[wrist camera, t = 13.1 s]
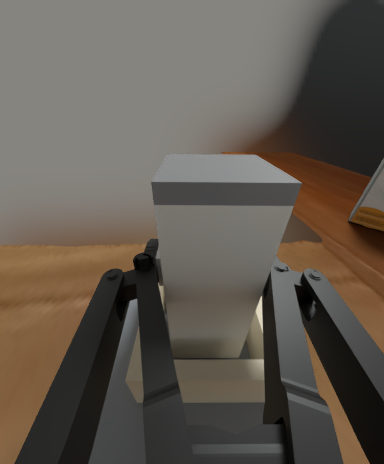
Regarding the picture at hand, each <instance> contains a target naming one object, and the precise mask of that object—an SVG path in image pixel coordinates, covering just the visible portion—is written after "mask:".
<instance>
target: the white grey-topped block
mask: <svg viewBox="0 0 384 464" xmlns="http://www.w3.org/2000/svg"><path fill="white" fill-rule="evenodd" d="M151 183H152V191H153V200H154V209H155V217H156V225H157V233H158V242H159V251H160V259H161V267H162V276H163V284H164V293H165V301H166V309H167V318H168V326H169V335H170V343H171V350H172V355H173V358H239V356H240V353H241V350H242V347H243V345H244V342H245V339H246V336H247V334H248V331H249V328H250V325H251V323H252V320H253V317H254V314H255V312H256V309H257V306H258V303H259V301H260V298H261V295H262V292H263V289H264V287H265V284H266V281H267V278H268V276H269V273H270V270H271V267H272V265H273V262H274V259H275V256H276V254H277V251H278V248H279V245H280V243H281V240H282V237H283V234H284V231H285V229H286V226H287V223H288V220H289V218H290V215H291V212H292V209H293V207H294V204H295V201H296V198H297V196H298V193H299V190H300V187H301V184H302V183H301V182H300V181H298V180H296V179H295V178H293V177H291V176H290V175H288V174H286V173H285V172H283V171H281V170H280V169H278V168H276V167H275V166H273V165H271V164H270V163H268V162H266V161H265V160H263V159H262V158H260V157H258V156H257V155H212V154H211V155H209V154H208V155H207V154H168V155H167V156H166V158H165V160H164V161H163V163H162V165H161V166H160V168H159V170H158V171H157V173H156V175H155V176H154V178H153V180H152V182H151Z"/></svg>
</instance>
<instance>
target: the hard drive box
mask: <svg viewBox="0 0 384 464" xmlns="http://www.w3.org/2000/svg"><path fill="white" fill-rule="evenodd" d="M349 221H350V222H353V223H357V224H360V225H363V226H365V227H368V228H372V229H377V230H380V231H384V159H383V160H382V162H381V164H380V165H379V167H378V169H377V170H376V172H375V174H374V175H373V177H372V179H371V181H370V182H369V184H368V186H367V187H366V189H365V191H364V193H363V194H362V196H361V198H360V199H359V201H358V203H357V204H356V206H355V207H354V209H353V210H352V212H351V215H350V218H349Z"/></svg>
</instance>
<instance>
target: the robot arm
mask: <svg viewBox="0 0 384 464" xmlns="http://www.w3.org/2000/svg"><path fill="white" fill-rule="evenodd" d="M133 263H134V267H135V269H134V270H131V271H127V272H122V270H120V269H111V270H109V271H107V272H105V273H104V274H103V276H102V278H101V280H100V282H99V284H98V286H97V288H96V291H95V293H94V295H93V297H92V299H91V301H90V303H89V306H88V308H87V310H86V312H85V314H84V316H83V318H82V320H81V323H80V325H79V327H78V329H77V331H76V333H75V335H74V338H73V340H72V342H71V344H70V346H69V348H68V350H67V353H66V355H65V357H64V359H63V361H62V363H61V365H60V368H59V370H58V372H57V374H56V376H55V378H54V380H53V383H52V385H51V387H50V389H49V391H48V393H47V395H46V398H45V400H44V402H43V404H42V406H41V408H40V410H39V412H38V415H37V417H36V419H35V421H34V423H33V425H32V427H31V430H30V432H29V434H28V436H27V438H26V440H25V442H24V445H23V447H22V449H21V451H20V453H19V455H18V457H17V460H16V462H15V464H88V463H89V459H90V456H91V452H92V449H93V445H94V441H95V437H96V433H97V429H98V425H99V421H100V417H101V413H102V409H103V405H104V401H105V398H106V394H107V390H108V386H109V382H110V378H111V374H112V370H113V366H114V362H115V358H116V354H117V350H118V346H119V343H120V339H121V335H122V331H123V327H124V323H125V319H126V315H127V311H128V307H129V303H130V301H131V300H134V299H137V305H138V319H139V334H140V348H141V363H142V377H143V392H144V398H143V422H144V438H145V454H146V464H343V460H342V456H341V452H340V448H339V444H338V440H337V436H336V432H335V428H334V424H333V420H332V416H331V413H330V410H329V407H328V405H327V403H326V401H325V400H324V399H322V398H321V397H320V395H319V393H318V390H317V385H316V381H315V376H314V372H313V367H312V363H311V358H310V354H309V349H308V345H307V341H306V336H305V332H304V327H305V329H306V331H307V333H308V335H309V338H310V340H311V342H312V344H313V346H314V348H315V350H316V352H317V354H318V356H319V359H320V361H321V363H322V365H323V367H324V369H325V371H326V373H327V375H328V378H329V380H330V382H331V384H332V386H333V388H334V390H335V392H336V394H337V396H338V399H339V401H340V403H341V405H342V407H343V409H344V411H345V413H346V415H347V417H348V420H349V422H350V424H351V426H352V428H353V430H354V432H355V434H356V436H357V439H358V441H359V443H360V445H361V447H362V449H363V451H364V453H365V455H366V457H367V459H368V461H369V463H370V464H384V354H383V352H382V351H381V350H380V349H379V347H378V346H377V345H376V343H375V342H374V341H373V339H372V338H371V337H370V335H369V334H368V333H367V331H366V330H365V329H364V327H363V326H362V325H361V323H360V322H359V321H358V319H357V318H356V317H355V315H354V314H353V313H352V311H351V310H350V309H349V307H348V306H347V305H346V303H345V302H344V301H343V299H342V298H341V297H340V295H339V294H338V293H337V291H336V290H335V289H334V287H333V286H332V285H331V284H330V282H329V281H328V280H327V278H326V277H325V276H324V275H323V274H322V273H321V272H319V271H317V270H314V269H306V270H304V272H303V273H301V272H296V271H293V270H290V268H289V267H288V266H287V265H286V264H284V263H282V262H280V260H279V259H278V257H277V255H276V256H275V259H274V262H273V265H272V267H271V270H270V273H269V276H268V278H267V281H266V284H265V287H264V289H263V292H262V295H261V296H262V318H263V350H264V383H265V405H264V411H263V425H257V426H255V427H253V428H251V429H248V430H246V431H244V432H241V433H239V434H233V433H230V432H228V431H225V430H222V429H220V428H217V427H214V426H212V425H187V421H186V416H185V411H184V406H183V401H182V397H181V392H180V388H179V384H178V379H177V375H176V370H175V365H174V360H173V355H172V350H171V345H170V340H169V335H168V330H167V325H166V320H165V315H164V310H163V305H162V300H161V295H160V290H159V286H164V284H163V276H162V267H161V259H160V251H159V242H158V239H150V241H149V242H147V245H146V248H145V251H144V253H140V254H138V255H136V256H135V257H134V259H133ZM158 283H159V285H158ZM303 325H304V327H303Z"/></svg>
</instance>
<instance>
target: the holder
mask: <svg viewBox="0 0 384 464" xmlns="http://www.w3.org/2000/svg"><path fill="white" fill-rule="evenodd" d="M158 285H159V283H158ZM159 290H160V295H161V300H162V305H163V310H164V315H165V320H166V325H167V330H168V335H169V326H168V318H167V309H166V301H165V293H164V286H159ZM169 340H170V335H169ZM170 345H171V343H170ZM173 360H174V365H175V370H176V375H177V379H178V384H179V388H180V392H181V397H182V401H183V406H184V411H185V416H186V421H187V425H212V426H214V427H217V428H220V429H222V430H225V431H228V432H230V433H233V434H239V433H241V432H244V431H246V430H248V429H251V428H253V427H255V426H257V425H263V411H264V405H265V383H264V350H263V318H262V296H261V298H260V301H259V303H258V306H257V309H256V312H255V314H254V317H253V320H252V323H251V325H250V328H249V331H248V334H247V336H246V339H245V342H244V345H243V347H242V350H241V353H240V356H239V358H173ZM143 398H144V392H143V377H142V363H141V348H140V334H139V319H138V305H137V299H134V300H131V301H130V303H129V307H128V311H127V315H126V319H125V323H124V327H123V331H122V335H121V339H120V343H119V346H118V350H117V354H116V358H115V362H114V366H113V370H112V374H111V378H110V382H109V386H108V390H107V394H106V398H105V401H104V405H103V409H102V413H101V417H100V421H99V425H98V429H97V433H96V437H95V441H94V445H93V449H92V452H91V456H90V459H89V463H88V464H146V454H145V438H144V422H143Z"/></svg>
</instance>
